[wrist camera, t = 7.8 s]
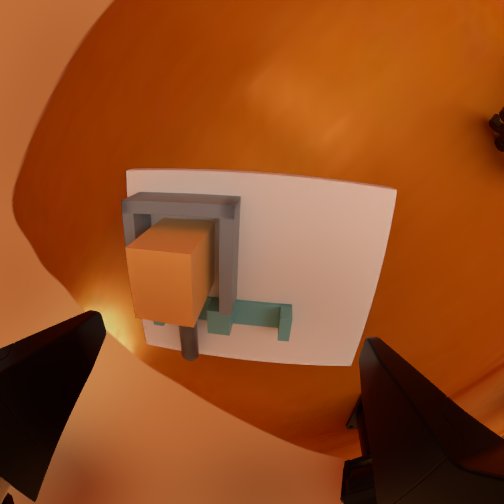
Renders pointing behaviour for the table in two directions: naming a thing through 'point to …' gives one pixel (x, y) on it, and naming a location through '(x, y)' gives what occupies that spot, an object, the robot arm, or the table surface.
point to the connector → (173, 275)
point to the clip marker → (258, 317)
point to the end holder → (192, 205)
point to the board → (288, 259)
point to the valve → (498, 129)
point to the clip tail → (207, 314)
